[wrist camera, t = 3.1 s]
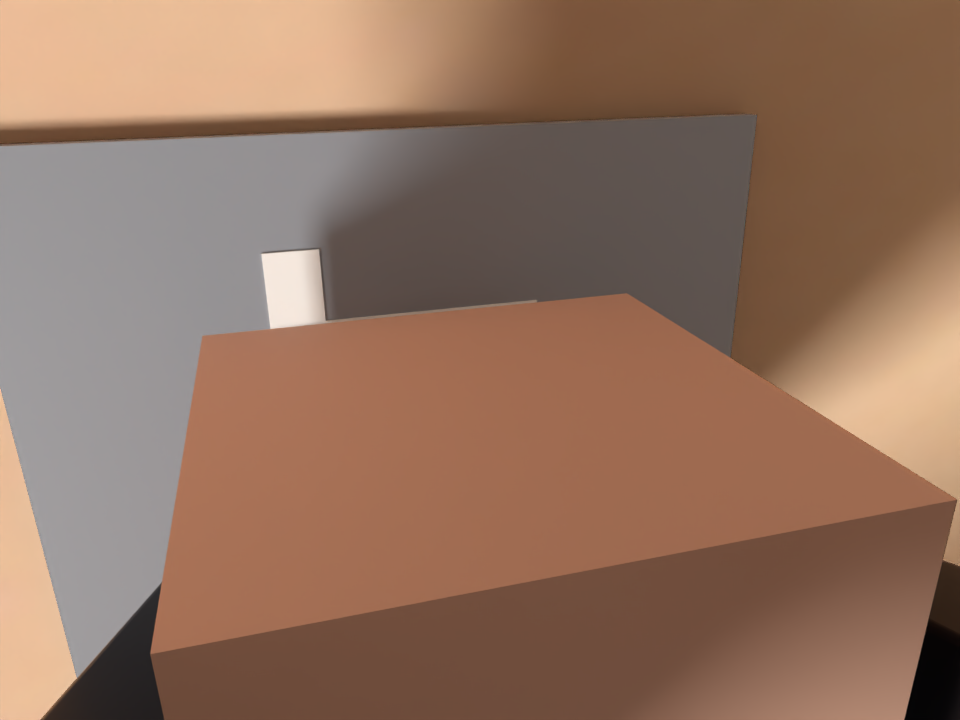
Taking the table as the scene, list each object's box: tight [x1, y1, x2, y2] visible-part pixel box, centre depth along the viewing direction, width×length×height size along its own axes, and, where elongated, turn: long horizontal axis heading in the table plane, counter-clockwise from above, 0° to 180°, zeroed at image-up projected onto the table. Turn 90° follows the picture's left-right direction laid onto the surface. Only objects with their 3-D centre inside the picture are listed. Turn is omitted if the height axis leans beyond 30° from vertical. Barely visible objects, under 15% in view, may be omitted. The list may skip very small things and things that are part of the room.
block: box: [150, 293, 957, 720], centre depth 8 cm, size 5×5×5 cm
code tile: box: [0, 114, 757, 678], centre depth 11 cm, size 9×10×1 cm
